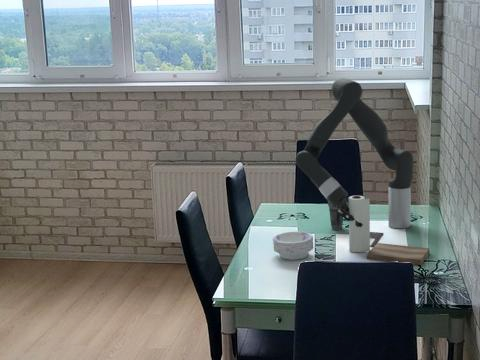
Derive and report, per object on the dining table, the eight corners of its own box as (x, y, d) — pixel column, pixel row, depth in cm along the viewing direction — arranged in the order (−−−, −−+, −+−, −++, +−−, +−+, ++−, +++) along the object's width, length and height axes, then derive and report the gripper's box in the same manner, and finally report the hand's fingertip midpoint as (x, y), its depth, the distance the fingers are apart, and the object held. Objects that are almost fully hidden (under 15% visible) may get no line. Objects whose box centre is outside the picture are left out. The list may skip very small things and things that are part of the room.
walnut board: (377, 247, 275) (377, 243, 274) (429, 253, 266) (429, 248, 265) (366, 259, 263) (366, 253, 262) (420, 265, 254) (420, 259, 253)
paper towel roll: (346, 249, 274) (345, 196, 270) (359, 246, 277) (358, 194, 272) (356, 254, 268) (356, 200, 263) (369, 251, 270) (369, 198, 266)
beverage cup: (345, 225, 306) (344, 181, 302) (345, 230, 299) (345, 184, 295) (328, 226, 307) (327, 181, 303) (328, 231, 300) (327, 185, 296)
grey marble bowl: (267, 253, 274) (266, 234, 273) (303, 247, 280) (302, 228, 278) (283, 265, 261) (282, 244, 259) (320, 258, 266) (320, 238, 264)
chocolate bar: (383, 232, 292) (373, 245, 276) (383, 235, 292) (373, 248, 276) (361, 231, 296) (351, 244, 280) (361, 233, 296) (351, 246, 280)
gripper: (331, 189, 265) (362, 224, 262) (346, 181, 277) (376, 214, 273) (319, 202, 269) (349, 236, 265) (334, 193, 281) (363, 226, 277)
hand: (362, 225), depth 269 cm, fingers closed on paper towel roll, 3 cm apart
